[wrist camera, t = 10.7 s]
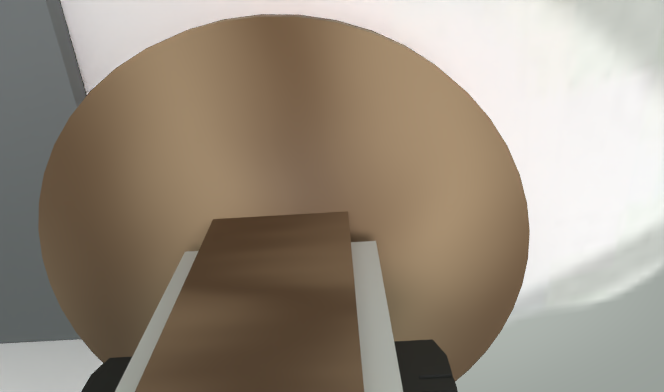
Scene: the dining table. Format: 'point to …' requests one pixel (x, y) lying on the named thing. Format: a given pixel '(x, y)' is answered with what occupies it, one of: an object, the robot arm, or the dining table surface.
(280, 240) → the lid
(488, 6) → the dining table surface
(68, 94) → the mat
